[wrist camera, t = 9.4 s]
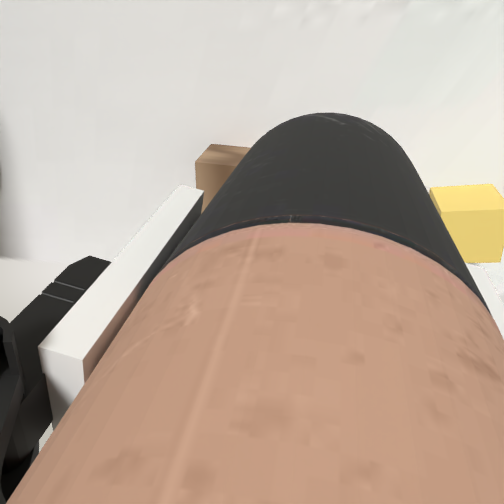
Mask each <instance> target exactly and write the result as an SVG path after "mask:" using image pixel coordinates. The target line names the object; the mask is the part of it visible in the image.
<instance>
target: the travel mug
mask: <svg viewBox="0 0 504 504" xmlns="http://www.w3.org/2000/svg"><path fill="white" fill-rule="evenodd" d="M6 504H504V339H503V337H502V335H501V333H500V330H499V328H498V326H497V324H496V322H495V320H494V319H493V317H492V315H491V312H490V310H489V308H488V306H487V304H486V302H485V300H484V298H483V296H482V294H481V293H480V291H479V289H478V287H477V285H476V283H475V281H474V279H473V277H472V275H471V274H470V272H469V270H468V268H467V266H466V264H465V262H464V260H463V258H462V256H461V255H460V253H459V251H458V249H457V247H456V245H455V243H454V241H453V239H452V237H451V236H450V234H449V232H448V230H447V228H446V226H445V224H444V222H443V220H442V218H441V217H440V215H439V213H438V211H437V209H436V207H435V205H434V203H433V201H432V199H431V198H430V196H429V194H428V192H427V190H426V188H425V186H424V184H423V182H422V180H421V179H420V177H419V175H418V173H417V171H416V169H415V168H414V166H413V164H412V162H411V161H410V159H409V158H408V156H407V155H406V153H405V152H404V150H403V149H402V147H401V146H400V145H399V144H398V143H397V142H396V141H395V140H394V139H393V138H392V137H391V136H390V135H389V134H387V133H386V132H385V131H384V130H382V129H381V128H379V127H377V126H376V125H374V124H372V123H370V122H368V121H365V120H363V119H361V118H358V117H354V116H350V115H346V114H339V113H315V114H308V115H303V116H300V117H296V118H293V119H290V120H288V121H286V122H284V123H282V124H280V125H278V126H276V127H275V128H273V129H271V130H270V131H269V132H267V133H266V134H265V135H264V136H262V137H261V138H260V139H259V140H258V141H257V142H256V143H255V144H254V145H253V146H252V148H251V149H250V150H249V151H248V152H247V153H246V155H245V156H244V157H243V159H242V160H241V161H240V162H239V164H238V165H237V166H236V168H235V169H234V171H233V172H232V173H231V175H230V176H229V177H228V179H227V180H226V181H225V183H224V184H223V185H222V187H221V188H220V189H219V191H218V192H217V193H216V195H215V196H214V198H213V199H212V200H211V202H210V203H209V204H208V206H207V207H206V208H205V210H204V211H203V212H202V214H201V215H200V216H199V218H198V219H197V220H196V222H195V223H194V224H193V226H192V227H191V229H190V230H189V231H188V233H187V234H186V235H185V237H184V238H183V239H182V241H181V242H180V243H179V245H178V246H177V247H176V249H175V250H174V251H173V253H172V254H171V256H170V257H169V258H168V260H167V261H166V262H165V264H164V265H163V266H162V268H161V269H160V271H159V272H158V274H157V275H156V277H155V278H154V279H153V280H152V282H151V283H150V285H149V286H148V288H147V289H146V291H145V292H144V294H143V295H142V297H141V298H140V300H139V301H138V303H137V305H136V306H135V308H134V309H133V311H132V312H131V314H130V315H129V317H128V318H127V320H126V321H125V323H124V324H123V326H122V327H121V329H120V330H119V332H118V333H117V335H116V337H115V338H114V340H113V341H112V343H111V344H110V346H109V347H108V349H107V350H106V352H105V353H104V355H103V356H102V358H101V359H100V361H99V362H98V364H97V366H96V367H95V369H94V370H93V372H92V373H91V375H90V376H89V378H88V379H87V381H86V382H85V384H84V385H83V387H82V388H81V390H80V391H79V393H78V395H77V396H76V398H75V399H74V401H73V402H72V404H71V405H70V407H69V408H68V410H67V411H66V413H65V414H64V416H63V417H62V419H61V420H60V422H59V423H58V425H57V427H56V428H55V430H54V431H53V433H52V434H51V436H50V437H49V439H48V440H47V442H46V443H45V445H44V446H43V448H42V450H41V451H40V453H39V454H38V456H37V457H36V459H35V460H34V462H33V463H32V465H31V466H30V468H29V469H28V471H27V472H26V474H25V475H24V477H23V478H22V480H21V481H20V483H19V484H18V486H17V488H16V489H15V491H14V492H13V494H12V495H11V497H10V498H9V500H8V501H7V503H6Z"/></svg>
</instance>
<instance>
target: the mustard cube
mask: <svg viewBox="0 0 504 504" xmlns="http://www.w3.org/2000/svg"><path fill="white" fill-rule="evenodd" d="M430 198H431V199H432V201H433V203H434V205H435V207H436V209H437V211H438V213H439V215H440V217H441V218H442V220H443V222H444V224H445V226H446V228H447V230H448V232H449V234H450V236H451V237H452V239H453V241H454V243H455V245H456V247H457V249H458V251H459V253H460V255H461V256H462V258H463V260H464V262H465V263H492V262H500V261H501V257H502V252H503V247H504V198H503V197H502V196H501V195H500V193H499V192H498V191H497V189H496V188H495V187H494V186H493V184H480V185H464V186H447V187H431V188H430Z"/></svg>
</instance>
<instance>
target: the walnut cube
mask: <svg viewBox="0 0 504 504" xmlns="http://www.w3.org/2000/svg"><path fill="white" fill-rule="evenodd" d="M250 149H251V148H247V147H237V146H227V145H217V144H211V145H210V146H209V147H208V148H207V149H206V150H205V152H204V153H203V154H202V155H201V156H200V157H199V158H198V159H197V160H196V161H195V170H196V189H200V190H203V191H204V197H203V204H202V211H201V214H202V212H203V211H204V210H205V208H206V207H207V206H208V204H209V203H210V202H211V200H212V199H213V198H214V196H215V195H216V193H217V192H218V191H219V189H220V188H221V187H222V185H223V184H224V183H225V181H226V180H227V179H228V177H229V176H230V175H231V173H232V172H233V171H234V169H235V168H236V166H237V165H238V164H239V162H240V161H241V160H242V159H243V157H244V156H245V155H246V153H247V152H248V151H249V150H250Z"/></svg>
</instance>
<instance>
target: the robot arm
mask: <svg viewBox="0 0 504 504" xmlns="http://www.w3.org/2000/svg"><path fill="white" fill-rule="evenodd" d="M203 197H204V191H203V190H200V189H196V188H192V187H189V186H185V185H181V184H180V185H179V186H178V187H177V188H176V189H175V191H174V192H173V193H172V194H171V195H170V196H169V197H168V199H167V200H166V201H165V202H164V203H163V204H162V205H161V207H160V208H159V209H158V210H157V211H156V212H155V213H154V215H153V216H152V217H151V218H150V219H149V220H148V221H147V223H146V224H145V225H144V226H143V227H142V228H141V229H140V231H139V232H138V233H137V234H136V235H135V236H134V237H133V239H132V240H131V241H130V242H129V243H128V244H127V245H126V247H125V248H124V249H123V250H122V251H121V252H120V253H119V255H118V256H117V257H116V258H115V259H114V260H113V261H112V262H110V261H106V260H103V259H99V258H96V257H92V256H88V257H85V258H83V259H81V260H79V261H77V262H75V263H73V264H71V265H69V266H68V267H67V268H66V269H65V270H64V271H63V272H62V273H61V274H60V275H59V276H58V277H57V278H56V279H55V280H54V283H52V282H51V284H49V286H47V287H46V288H45V290H43V291H42V294H41V295H38V296H37V297H36V298H35V299H34V300H33V301H32V302H31V303H30V304H29V305H28V306H27V307H26V308H25V309H24V310H23V311H22V312H21V313H20V314H19V315H18V316H17V317H16V318H15V319H14V320H13V321H11V323H9V322H8V321H7V320H6V319H4V318H2V317H1V316H0V504H6V503H7V501H8V500H9V498H10V497H11V495H12V494H13V492H14V491H15V489H16V488H17V486H18V484H19V483H20V481H21V480H22V478H23V477H24V475H25V474H26V472H27V471H28V469H29V468H30V466H31V465H32V463H33V462H34V460H35V459H36V457H37V456H38V454H39V439H40V438H41V437H42V435H43V434H44V432H45V430H46V429H47V428H48V426H49V425H50V423H51V422H52V427H53V431H54V430H55V428H56V427H57V425H58V423H59V422H60V420H61V419H62V417H63V416H64V414H65V413H66V411H67V410H68V408H69V407H70V405H71V404H72V402H73V401H74V399H75V398H76V396H77V395H78V393H79V391H80V390H81V388H82V387H83V385H84V384H85V382H86V381H87V379H88V378H89V376H90V375H91V373H92V372H93V370H94V369H95V367H96V366H97V364H98V362H99V361H100V359H101V358H102V356H103V355H104V353H105V352H106V350H107V349H108V347H109V346H110V344H111V343H112V341H113V340H114V338H115V337H116V335H117V333H118V332H119V330H120V329H121V327H122V326H123V324H124V323H125V321H126V320H127V318H128V317H129V315H130V314H131V312H132V311H133V309H134V308H135V306H136V305H137V303H138V301H139V300H140V298H141V297H142V295H143V294H144V292H145V291H146V289H147V288H148V286H149V285H150V283H151V282H152V280H153V279H154V278H155V277H156V275H157V274H158V272H159V271H160V269H161V268H162V266H163V265H164V264H165V262H166V261H167V260H168V258H169V257H170V256H171V254H172V253H173V251H174V250H175V249H176V247H177V246H178V245H179V243H180V242H181V241H182V239H183V238H184V237H185V235H186V234H187V233H188V231H189V230H190V229H191V227H192V226H193V224H194V223H195V222H196V220H197V219H198V218H199V216H200V215H201V211H202V204H203ZM465 264H466V266H467V268H468V270H469V272H470V274H471V275H472V277H473V279H474V281H475V283H476V285H477V287H478V289H479V291H480V293H481V294H482V296H483V298H484V300H485V302H486V304H487V306H488V308H489V310H490V312H491V315H492V317H493V319H494V320H495V322H496V324H497V326H498V328H499V330H500V333H501V335H502V337H503V339H504V304H503V302H502V300H501V298H500V296H499V294H498V292H497V290H496V288H495V287H494V285H493V283H492V281H491V279H490V277H489V275H488V273H487V271H486V269H485V268H483V267H479V266H476V265H472V264H468V263H465Z"/></svg>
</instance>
